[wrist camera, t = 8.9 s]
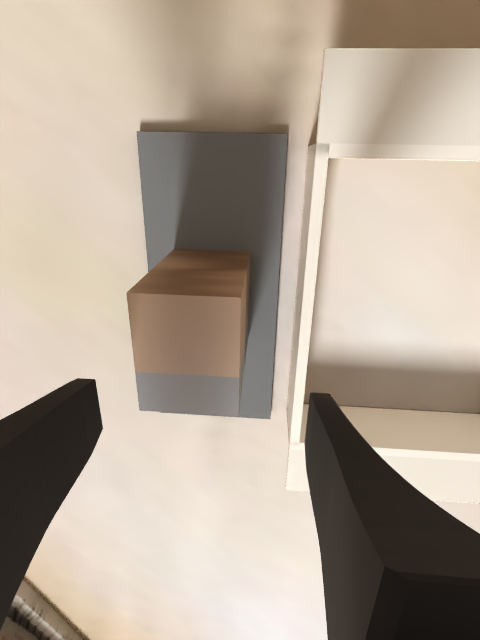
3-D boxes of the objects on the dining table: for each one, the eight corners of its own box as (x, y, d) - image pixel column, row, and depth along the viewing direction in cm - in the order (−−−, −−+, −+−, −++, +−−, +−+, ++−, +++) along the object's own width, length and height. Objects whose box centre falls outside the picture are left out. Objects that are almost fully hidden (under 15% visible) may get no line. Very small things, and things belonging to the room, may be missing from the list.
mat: (287, 134, 17) (287, 133, 17) (270, 414, 24) (270, 418, 23) (139, 131, 18) (136, 131, 17) (161, 408, 24) (160, 412, 24)
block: (250, 251, 19) (240, 297, 13) (247, 338, 21) (238, 416, 15) (173, 248, 19) (126, 292, 13) (178, 335, 21) (139, 410, 15)
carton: (630, 71, 15) (725, 48, 12) (487, 460, 24) (521, 506, 20) (314, 70, 16) (325, 48, 13) (283, 446, 24) (285, 490, 21)
